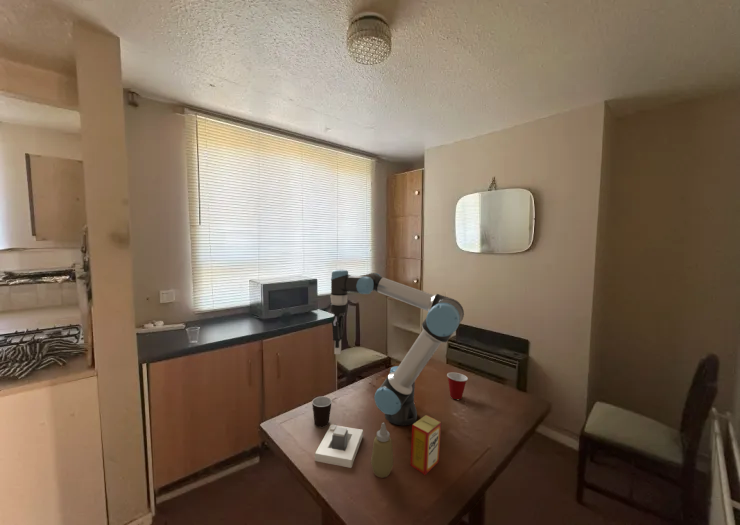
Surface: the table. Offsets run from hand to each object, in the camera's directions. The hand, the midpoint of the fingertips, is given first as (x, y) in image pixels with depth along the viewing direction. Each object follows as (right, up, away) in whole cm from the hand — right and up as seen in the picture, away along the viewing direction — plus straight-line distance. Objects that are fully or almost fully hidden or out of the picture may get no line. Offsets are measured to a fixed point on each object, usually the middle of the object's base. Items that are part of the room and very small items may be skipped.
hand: (337, 353), depth 140 cm
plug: (+3, -31, -21) cm, 37 cm away
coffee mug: (-6, -30, -3) cm, 31 cm away
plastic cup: (+61, -30, +22) cm, 71 cm away
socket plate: (+3, -31, -21) cm, 37 cm away
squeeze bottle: (+19, -33, -32) cm, 50 cm away
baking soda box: (+35, -33, -27) cm, 56 cm away
